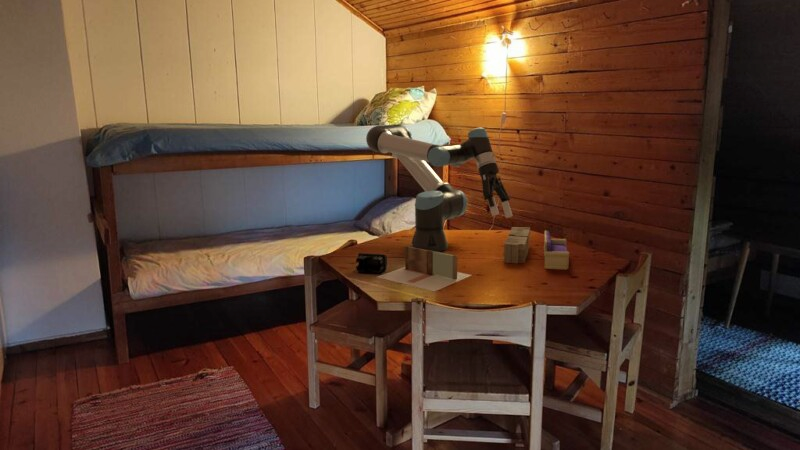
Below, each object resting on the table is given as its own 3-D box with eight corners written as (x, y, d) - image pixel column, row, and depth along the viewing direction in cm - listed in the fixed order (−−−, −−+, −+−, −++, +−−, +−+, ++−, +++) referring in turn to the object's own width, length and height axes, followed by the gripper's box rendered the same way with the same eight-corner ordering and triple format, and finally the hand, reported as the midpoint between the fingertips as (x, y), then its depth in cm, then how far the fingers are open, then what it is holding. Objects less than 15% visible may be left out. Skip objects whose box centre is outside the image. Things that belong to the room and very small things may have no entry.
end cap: (387, 270, 206) (387, 252, 204) (382, 276, 199) (381, 257, 198) (361, 269, 208) (360, 251, 207) (355, 274, 201) (354, 256, 200)
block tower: (524, 266, 212) (530, 245, 239) (525, 245, 210) (531, 226, 237) (503, 265, 215) (511, 244, 242) (503, 243, 213) (511, 225, 240)
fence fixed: (404, 269, 205) (403, 246, 203) (407, 268, 207) (407, 245, 205) (431, 275, 198) (431, 252, 196) (434, 274, 199) (434, 251, 197)
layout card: (376, 278, 197) (376, 276, 197) (415, 264, 213) (415, 262, 213) (434, 292, 181) (434, 291, 181) (471, 276, 198) (471, 274, 197)
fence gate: (432, 274, 197) (432, 252, 196) (434, 273, 199) (434, 251, 197) (455, 279, 191) (455, 256, 190) (458, 278, 193) (458, 255, 191)
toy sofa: (568, 270, 203) (570, 243, 201) (543, 269, 205) (545, 242, 203) (565, 255, 223) (567, 230, 221) (543, 254, 225) (544, 229, 223)
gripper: (482, 157, 212) (498, 210, 208) (507, 166, 233) (523, 214, 228) (465, 164, 216) (480, 217, 211) (491, 173, 237) (506, 220, 232)
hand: (502, 216), depth 220 cm, fingers open, 13 cm apart
